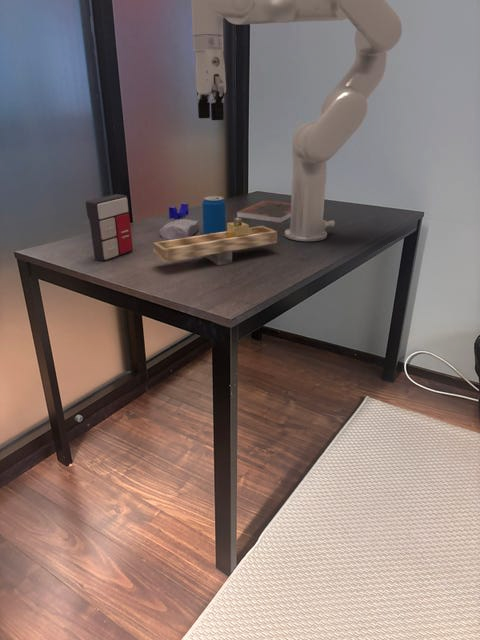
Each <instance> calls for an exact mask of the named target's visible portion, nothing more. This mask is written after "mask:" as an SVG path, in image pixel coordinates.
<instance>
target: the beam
mask: <svg viewBox="0 0 480 640" xmlns="http://www.w3.org/2000/svg"><path fill="white" fill-rule="evenodd" d="M277 243H278V231H276V230H274V229H272V228H269V227H266V226H264V225H259V226H253V227H252V226H251V227H249V235H246V236H240V237H234V238H227V230H226V231H225V232H219V233H210V234H206V235H203V234H201V235H193V236H191V237H186V238H180V239H168V240H167V239H166V240H160V241H156V242H152V250H153V255H154V256H155V257H156V258H158V259H159V260H161V262H163V263H170V262H174V261H175V262H176V261H180V260H181V261H182V260H187V259H192V258H199V257H203V256H204V258H206V259H208V260H209V261H211V262H212V263H213V264H215V265H217V266H222V265H228V264H233V251H237V250H243V249H248V248H253V247H254V248H255V247H261V246H267V245H272V244H277Z"/></svg>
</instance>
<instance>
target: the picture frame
mask: <svg viewBox="0 0 480 640" xmlns="http://www.w3.org/2000/svg"><path fill="white" fill-rule="evenodd" d="M236 217H240V218H245V219H252V220H260V221H267V222H273V223H282V222H284V221H286V220H288V219H290V218H291V202H290V203H289V202H281V201H273V200H263V201H260V202H258V203H255V204H253V205H250V206H248V207H245V208H242V209H241V210H239V211H237V212H236Z"/></svg>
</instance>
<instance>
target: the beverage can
mask: <svg viewBox="0 0 480 640" xmlns="http://www.w3.org/2000/svg"><path fill="white" fill-rule="evenodd" d="M202 226H203V228H202V230H203V234H202V235H206V234H210V233H219V232H225V231H227V225H226V201H225V199H224V196H222V195H221V196H220V195H208V196H204V197H203V200H202Z"/></svg>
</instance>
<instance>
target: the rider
mask: <svg viewBox="0 0 480 640" xmlns="http://www.w3.org/2000/svg"><path fill="white" fill-rule="evenodd" d="M242 218H243V217H237V216H236V217H234V218H233V221H231V222H226V231H227V238H234V237H240V236H246V235H249V228H250V224H248V223H245V222H243V221H242V220H243V219H242Z"/></svg>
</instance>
